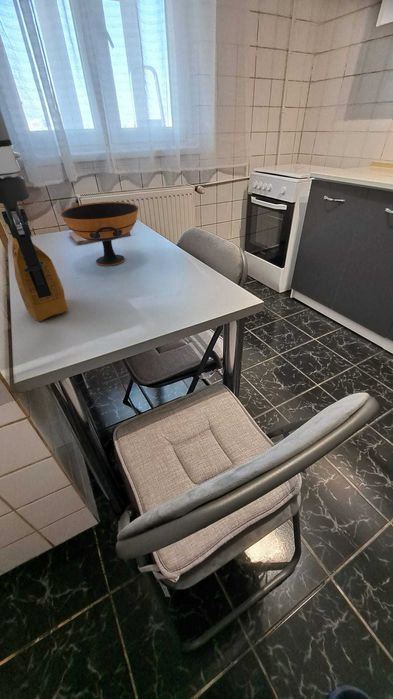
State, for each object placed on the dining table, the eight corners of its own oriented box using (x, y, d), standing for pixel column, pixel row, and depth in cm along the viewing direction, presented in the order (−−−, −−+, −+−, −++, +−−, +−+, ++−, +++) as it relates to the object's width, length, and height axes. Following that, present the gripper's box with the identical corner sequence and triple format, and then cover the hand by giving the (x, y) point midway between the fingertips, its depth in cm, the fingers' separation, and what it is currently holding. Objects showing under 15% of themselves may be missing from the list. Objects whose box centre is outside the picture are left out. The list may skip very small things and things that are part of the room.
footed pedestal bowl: (74, 250, 120) (61, 203, 109) (136, 242, 126) (130, 197, 116) (75, 285, 93) (58, 227, 82) (154, 273, 99) (148, 217, 88)
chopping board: (77, 244, 126) (76, 241, 125) (69, 235, 137) (68, 232, 136) (130, 235, 135) (130, 231, 134) (119, 227, 146) (118, 224, 145)
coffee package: (62, 296, 87) (35, 216, 73) (73, 313, 78) (45, 227, 65) (25, 305, 83) (-10, 223, 69) (33, 325, 74) (-6, 235, 61)
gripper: (26, 177, 49) (67, 302, 64) (19, 170, 58) (56, 281, 73) (-26, 182, 46) (30, 312, 61) (-25, 174, 55) (24, 289, 70)
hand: (44, 295), depth 67 cm, fingers closed
